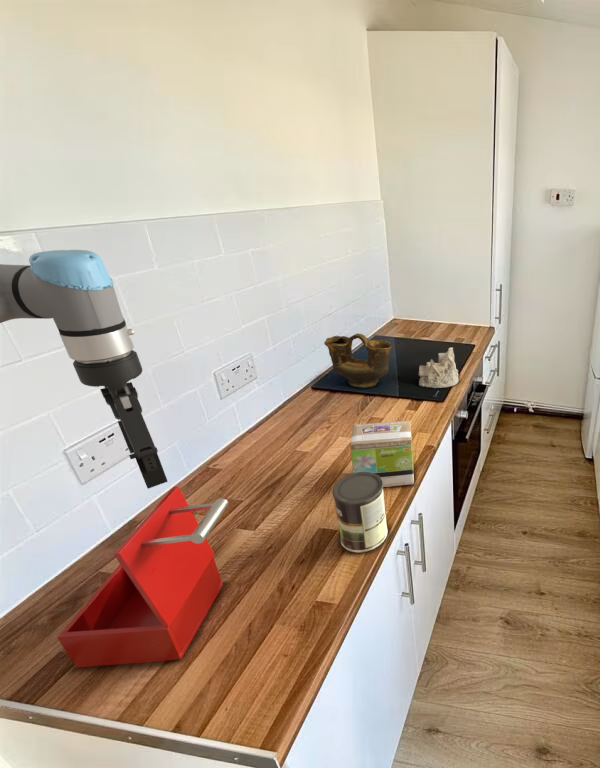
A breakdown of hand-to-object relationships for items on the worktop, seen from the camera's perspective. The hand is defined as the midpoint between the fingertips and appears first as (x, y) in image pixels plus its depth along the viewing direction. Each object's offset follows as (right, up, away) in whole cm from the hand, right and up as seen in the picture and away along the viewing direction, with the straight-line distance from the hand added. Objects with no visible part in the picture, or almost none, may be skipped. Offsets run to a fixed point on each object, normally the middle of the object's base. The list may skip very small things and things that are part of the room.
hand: (148, 466), depth 76 cm
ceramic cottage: (+35, +16, +97) cm, 105 cm away
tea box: (+30, -11, +41) cm, 52 cm away
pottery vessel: (+6, +15, +91) cm, 93 cm away
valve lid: (+8, -14, -5) cm, 16 cm away
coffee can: (+31, -20, +22) cm, 43 cm away
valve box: (+1, -28, +1) cm, 28 cm away
